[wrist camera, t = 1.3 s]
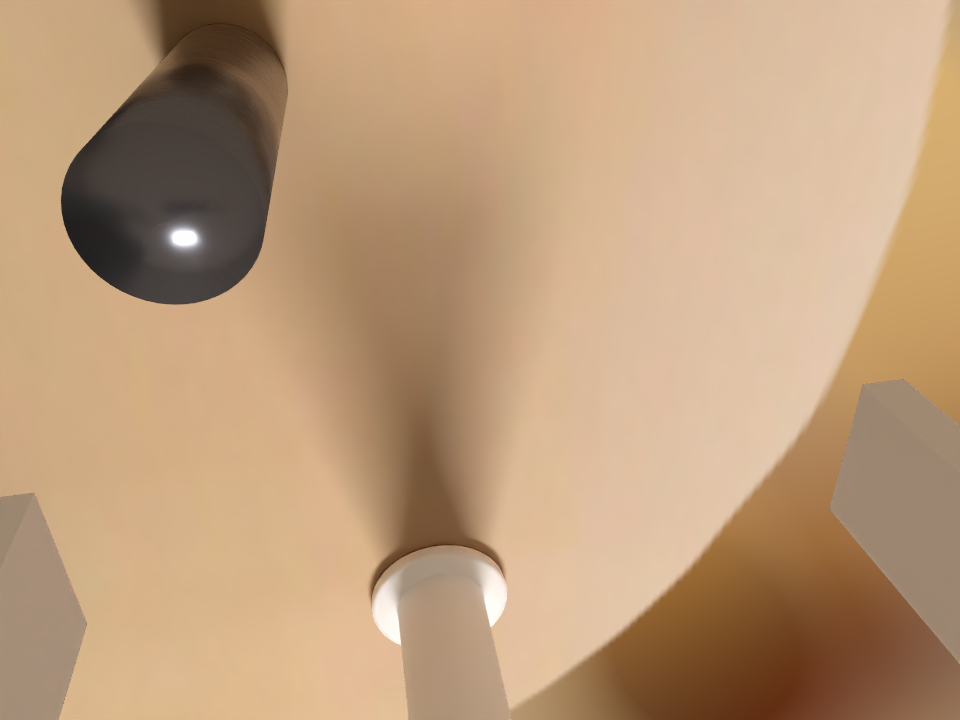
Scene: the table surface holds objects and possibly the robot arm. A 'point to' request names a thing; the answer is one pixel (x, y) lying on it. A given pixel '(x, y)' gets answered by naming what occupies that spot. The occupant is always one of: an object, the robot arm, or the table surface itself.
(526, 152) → the table surface
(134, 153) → the steel pin
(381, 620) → the candle
